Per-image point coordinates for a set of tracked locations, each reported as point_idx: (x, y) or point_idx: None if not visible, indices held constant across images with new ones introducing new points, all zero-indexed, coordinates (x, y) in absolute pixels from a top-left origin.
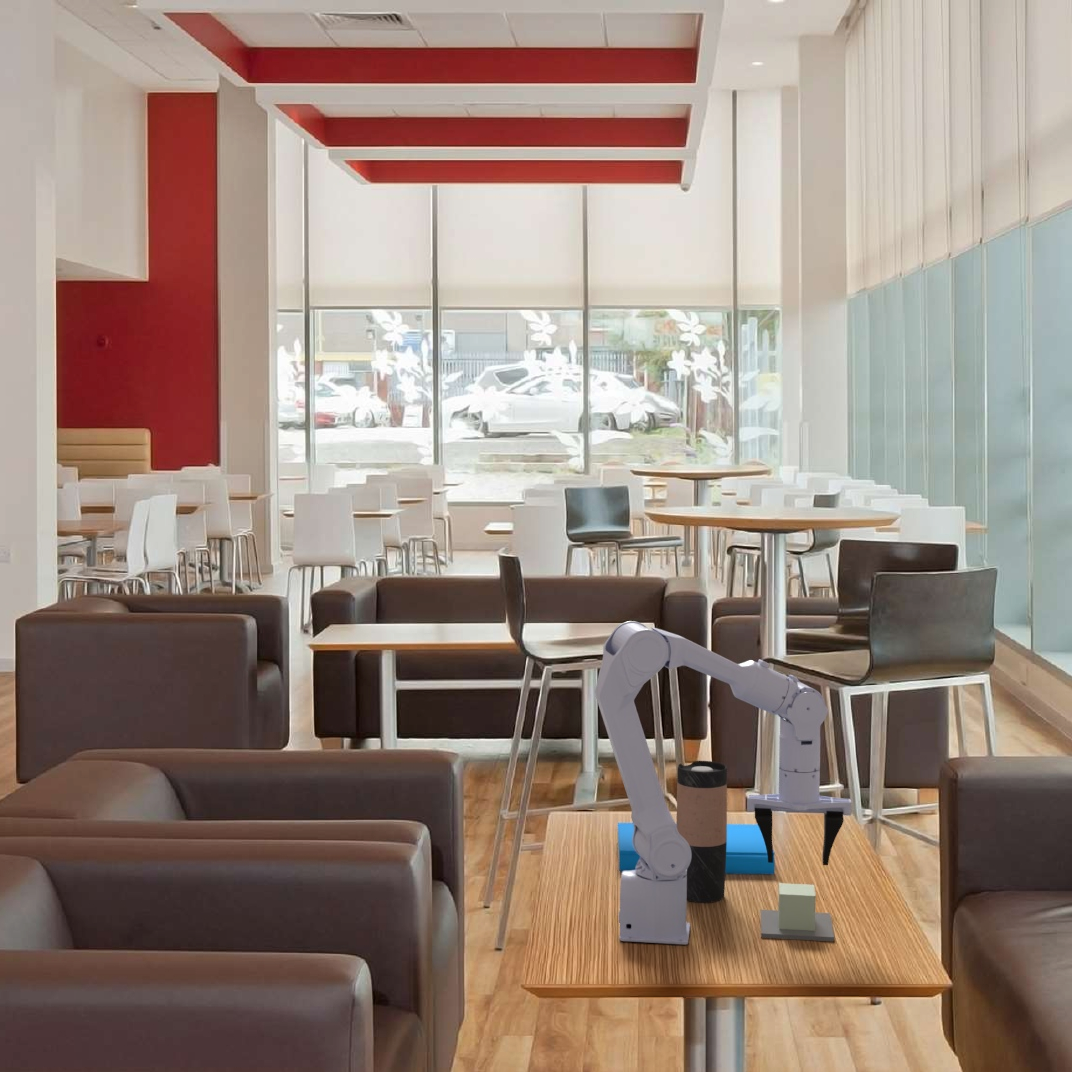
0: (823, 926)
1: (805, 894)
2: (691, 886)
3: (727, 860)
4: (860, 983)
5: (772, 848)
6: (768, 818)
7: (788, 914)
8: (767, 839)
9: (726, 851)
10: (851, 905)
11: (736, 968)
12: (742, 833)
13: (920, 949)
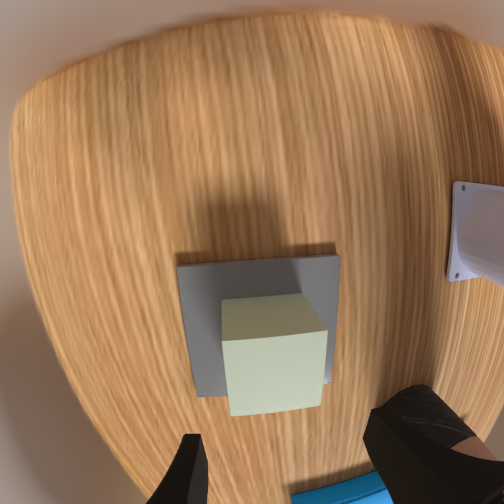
0: (204, 328)
1: (252, 347)
2: (434, 397)
3: (356, 491)
4: (132, 43)
5: (398, 436)
6: (490, 495)
7: (289, 309)
8: (432, 449)
9: (359, 500)
10: (169, 439)
11: (372, 76)
12: None
13: (28, 257)
